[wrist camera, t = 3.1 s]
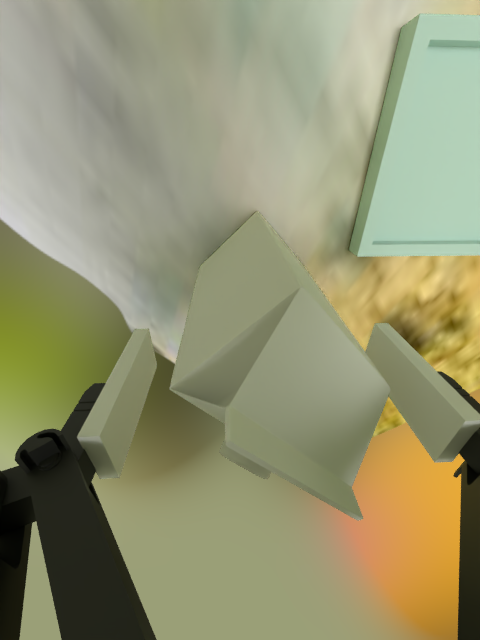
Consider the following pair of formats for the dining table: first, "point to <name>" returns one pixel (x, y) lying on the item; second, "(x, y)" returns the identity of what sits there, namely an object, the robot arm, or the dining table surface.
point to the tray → (426, 146)
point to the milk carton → (278, 368)
